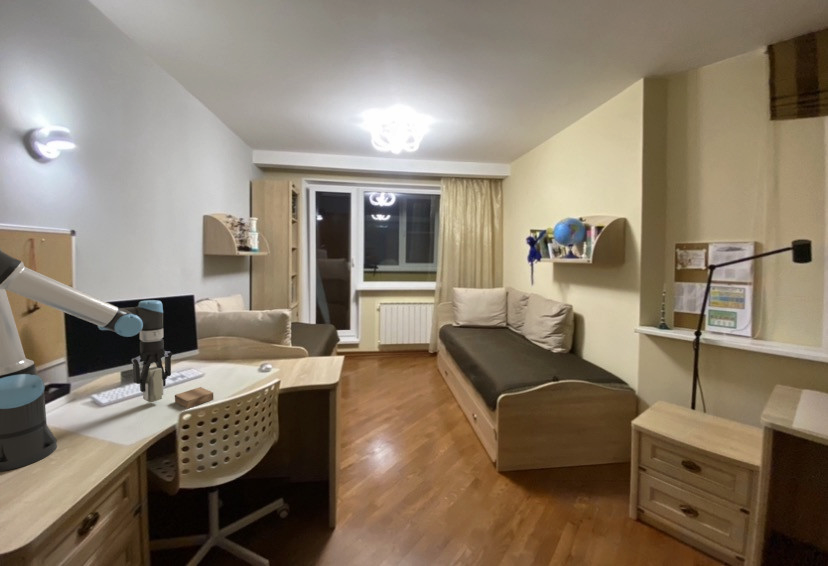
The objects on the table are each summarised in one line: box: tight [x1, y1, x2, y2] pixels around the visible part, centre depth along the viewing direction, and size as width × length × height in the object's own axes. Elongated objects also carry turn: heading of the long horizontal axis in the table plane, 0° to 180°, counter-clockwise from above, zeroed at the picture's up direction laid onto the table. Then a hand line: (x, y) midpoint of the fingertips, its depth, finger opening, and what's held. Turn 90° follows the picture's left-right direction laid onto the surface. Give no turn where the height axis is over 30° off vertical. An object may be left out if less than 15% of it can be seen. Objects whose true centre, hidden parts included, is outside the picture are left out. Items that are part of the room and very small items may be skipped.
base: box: [174, 386, 214, 409], centre depth 144 cm, size 10×10×3 cm
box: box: [143, 365, 163, 403], centre depth 140 cm, size 5×4×13 cm
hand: (153, 396), depth 140 cm, fingers closed on box, 4 cm apart
